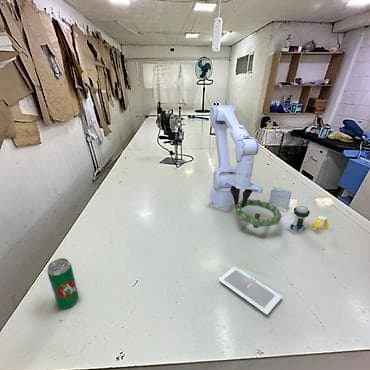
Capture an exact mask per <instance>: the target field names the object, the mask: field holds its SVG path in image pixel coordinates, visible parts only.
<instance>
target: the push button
mask: <svg viewBox="0 0 370 370" xmlns="http://www.w3.org/2000/svg"><path fill="white" fill-rule="evenodd" d="M293 214H294V216H295V217H294V221H293V223H291V224H290V226H289V229H290V230H292V231H293V232H295V231H298V232H301V231H302V230H305V228H307V225H304V224H305V219H306V218H308V217H309V215H310V214H311V211H310V210H309V209H308V208H307V206H305V205H298V206H296V207H294V208H293Z"/></svg>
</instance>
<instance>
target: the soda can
mask: <svg viewBox="0 0 370 370" xmlns="http://www.w3.org/2000/svg"><path fill="white" fill-rule="evenodd" d="M46 272H47V276H48V280H49V283H50V286H51V289H52V293H53V297H54V300H55V302H56V306H57V307H58V308H60V309H68V308H71V307H73V306H74V305H75V304H76V303H77V302H78V300H79V298H80V295H79V291H78V288H77V283H76V279H75V275H74V271H73V266H72V263H71V262H70V261H69V260H68V259H67V258H63V257H62V258H57V259H55V260H53V261H51V262H50V263H49V264H48V266H47V271H46Z"/></svg>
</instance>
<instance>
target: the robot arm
mask: <svg viewBox="0 0 370 370" xmlns="http://www.w3.org/2000/svg"><path fill="white" fill-rule="evenodd" d="M209 121H210V122H209V123H210V127H211V128H212V129H214V134H215V143H216V152H217V162H218V167H217V168H216V169H215V170H214V171H213V175H212V176H213V178H212V184H213V186H212V187H211V190H210V197H209V205H214V206H216V207H219V208H221V209H228V208H231V207H232V205H234V207H235V206H236V205H237V204H238V203H239V202H240V194H241V193H240V192H241V190H243V191H242V200H241V201H242V209H244V208H245V207H246V206H245V205H246V202H247V200H248V199H249V198H250V197H251V195H252V193H253V192H254V193H257V194H259V195H261V194H262V193H263V189H264V187H263V186H261V185H257V184H254V183H252V175H253V168H254V162H255V156H256V155H258V154H259V150H260V144H259V141H258V139H257V138H256V137H253V136H251V135H250V134H249V132H248V131H247V129H246V127H245V126H244V125H243V124H240V123H239V120H238V118H237V107H236V106H235V105H234V104H231V105H216V104H215V105H214V104H213V105H212V106H211V107H210V109H209ZM228 129H230V131H229V135H230V137H231V139H232V141H233V143H234V145H235V146H234V151H235V160H236V165H235V166H236V167H233V166H231V160H230V159H231V158H230V151H229V141H228V134H227V130H228Z"/></svg>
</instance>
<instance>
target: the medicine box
mask: <svg viewBox="0 0 370 370" xmlns="http://www.w3.org/2000/svg"><path fill="white" fill-rule="evenodd" d="M291 196H292V190H290V189H287V188H282V187H276V186H272V188H271V190H270V195H269V201H268V203H270V204H271V205H273V206H275V207H276V208H278V209H282V210H288V209H289V206H290V202H291V198H292V197H291Z"/></svg>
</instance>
